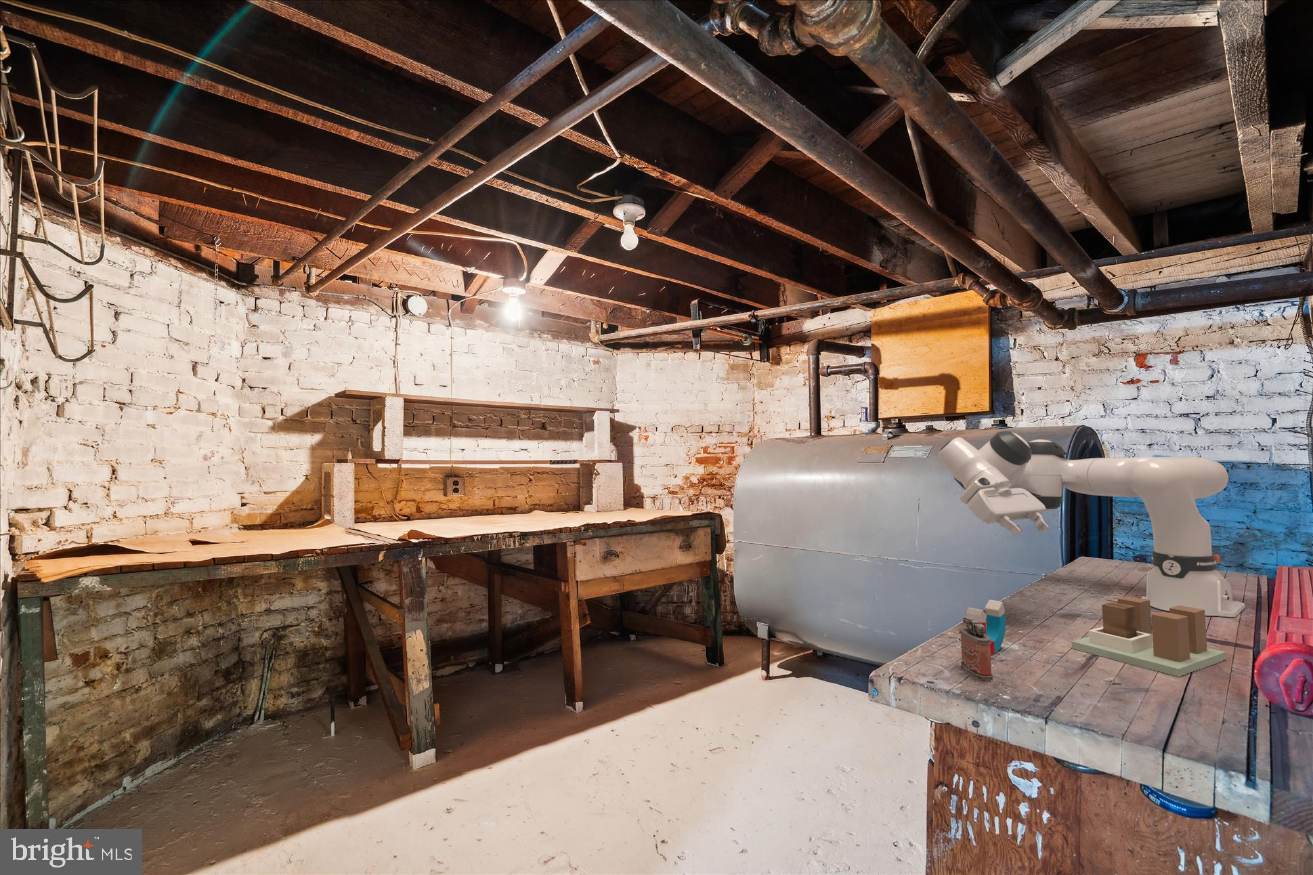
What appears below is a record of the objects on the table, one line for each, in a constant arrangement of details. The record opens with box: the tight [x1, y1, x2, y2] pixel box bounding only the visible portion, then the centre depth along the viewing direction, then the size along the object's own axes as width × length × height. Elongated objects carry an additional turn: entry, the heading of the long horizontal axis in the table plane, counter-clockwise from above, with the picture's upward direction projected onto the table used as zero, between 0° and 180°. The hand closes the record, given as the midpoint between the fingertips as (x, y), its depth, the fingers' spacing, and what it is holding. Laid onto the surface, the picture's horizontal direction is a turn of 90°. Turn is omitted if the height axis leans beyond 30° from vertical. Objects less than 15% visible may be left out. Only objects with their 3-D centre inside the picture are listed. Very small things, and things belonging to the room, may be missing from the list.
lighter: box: [959, 615, 994, 682], centre depth 109 cm, size 8×3×10 cm, turn 179°
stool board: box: [1071, 595, 1227, 678], centre depth 116 cm, size 18×18×10 cm
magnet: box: [965, 599, 1007, 655], centre depth 119 cm, size 12×3×10 cm, turn 126°
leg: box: [1101, 601, 1137, 639], centre depth 118 cm, size 4×4×8 cm
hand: (1032, 531), depth 133 cm, fingers open, 8 cm apart
